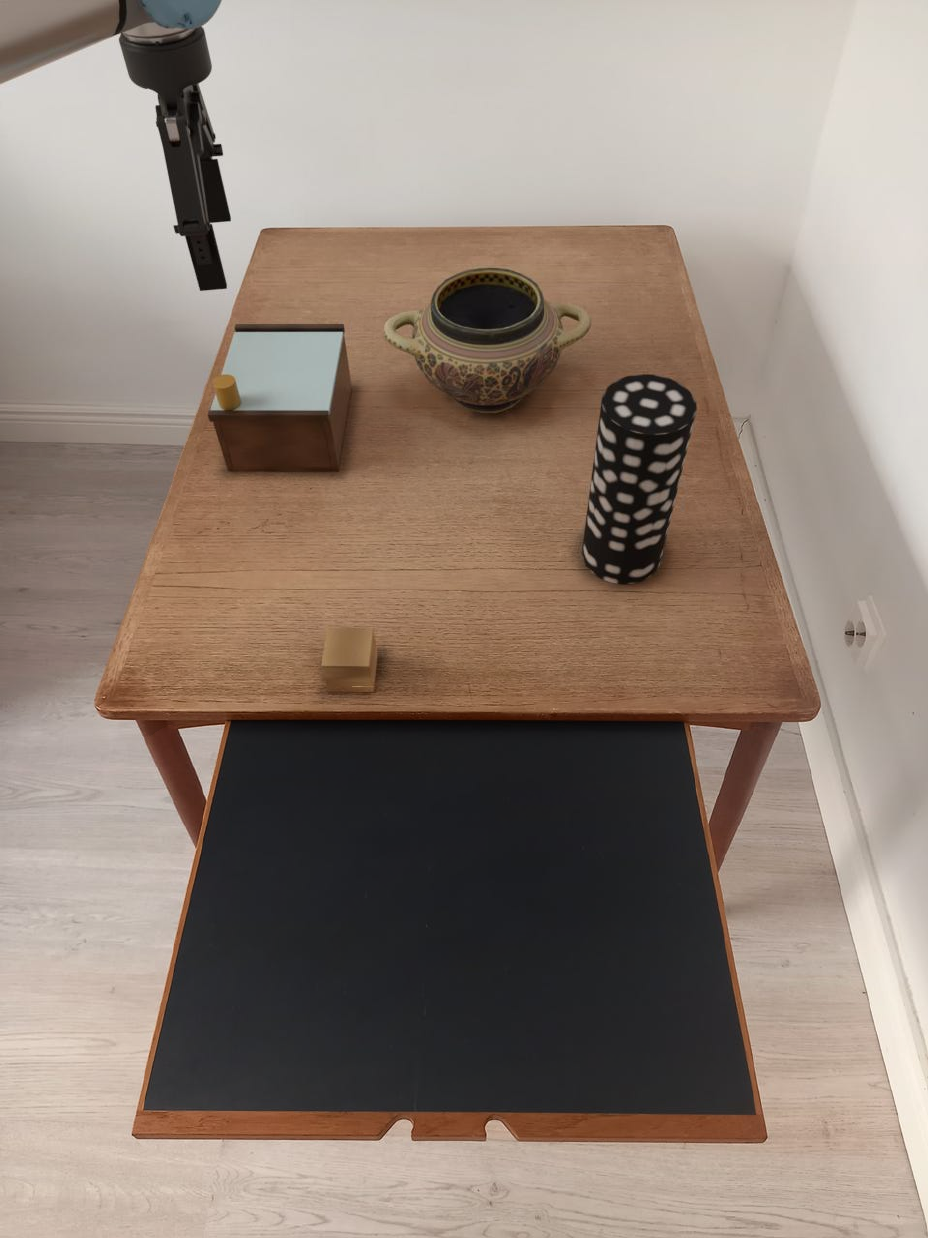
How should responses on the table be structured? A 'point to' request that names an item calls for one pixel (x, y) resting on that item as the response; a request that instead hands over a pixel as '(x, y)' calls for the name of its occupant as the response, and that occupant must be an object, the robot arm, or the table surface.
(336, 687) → the block
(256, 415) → the wooden box
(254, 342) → the pale blue square panel
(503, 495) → the table surface
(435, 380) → the ceramic bowl
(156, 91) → the robot arm
